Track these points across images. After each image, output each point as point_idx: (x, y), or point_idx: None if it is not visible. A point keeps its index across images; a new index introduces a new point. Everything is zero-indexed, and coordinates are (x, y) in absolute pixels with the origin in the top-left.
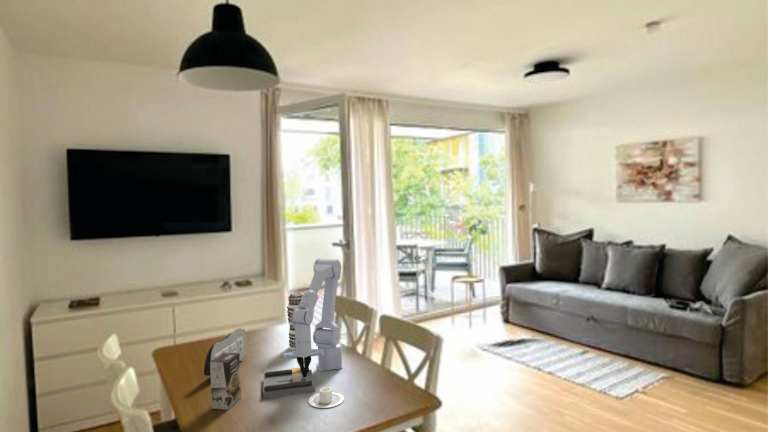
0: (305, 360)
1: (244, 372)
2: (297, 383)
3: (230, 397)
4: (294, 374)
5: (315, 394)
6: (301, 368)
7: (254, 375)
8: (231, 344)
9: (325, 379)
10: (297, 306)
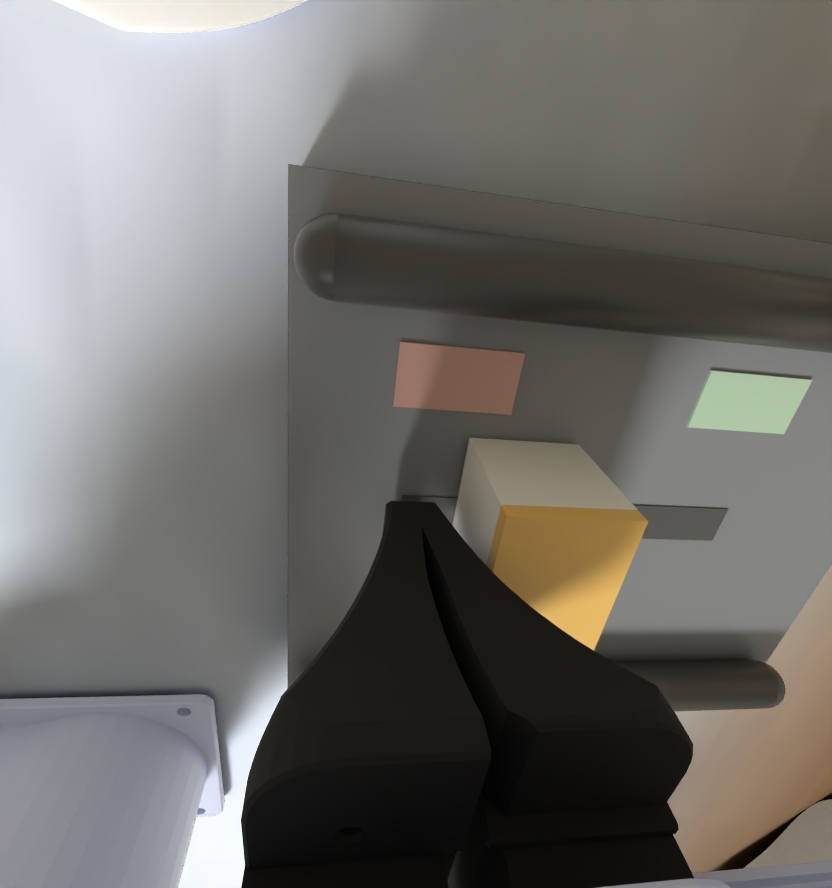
0: (465, 737)
1: (760, 774)
2: (603, 261)
3: None
4: (606, 506)
5: None
6: (501, 587)
7: (730, 728)
8: None
9: (136, 509)
10: None
